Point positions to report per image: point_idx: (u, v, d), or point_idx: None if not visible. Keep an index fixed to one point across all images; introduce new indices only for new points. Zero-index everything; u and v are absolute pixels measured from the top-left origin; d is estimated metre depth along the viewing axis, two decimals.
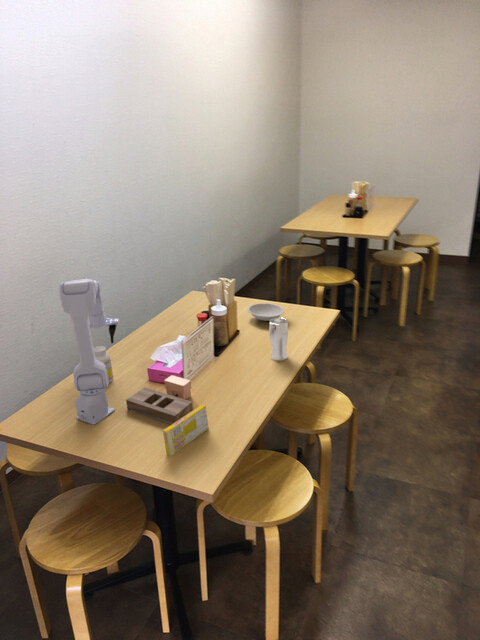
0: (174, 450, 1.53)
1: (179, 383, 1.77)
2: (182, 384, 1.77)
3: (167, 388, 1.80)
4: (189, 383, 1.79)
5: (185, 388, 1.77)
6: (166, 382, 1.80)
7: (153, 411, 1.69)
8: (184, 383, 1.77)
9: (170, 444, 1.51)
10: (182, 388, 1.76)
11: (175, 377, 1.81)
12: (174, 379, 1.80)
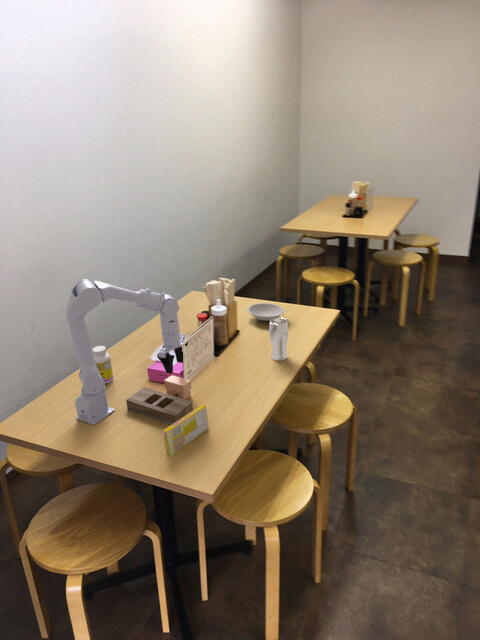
0: (174, 450, 1.53)
1: (179, 383, 1.77)
2: (182, 384, 1.77)
3: (167, 388, 1.80)
4: (189, 383, 1.79)
5: (185, 388, 1.77)
6: (166, 382, 1.80)
7: (153, 411, 1.69)
8: (184, 383, 1.77)
9: (170, 444, 1.51)
10: (182, 388, 1.76)
11: (175, 377, 1.81)
12: (174, 379, 1.80)
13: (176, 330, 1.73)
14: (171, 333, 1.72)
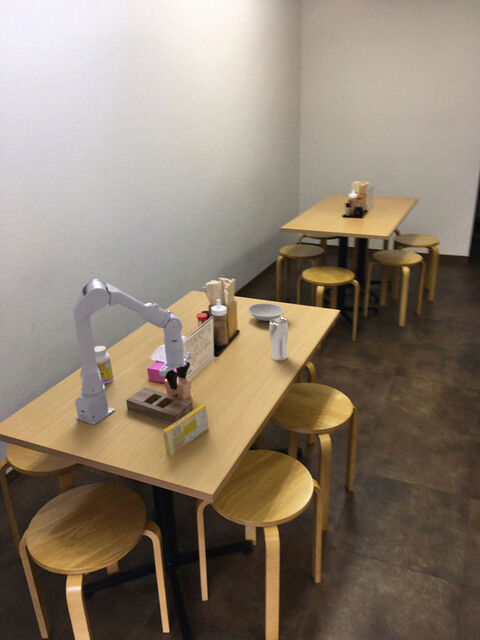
0: (174, 450, 1.53)
1: (179, 383, 1.77)
2: (182, 384, 1.77)
3: (167, 388, 1.80)
4: (189, 383, 1.79)
5: (185, 388, 1.77)
6: (166, 382, 1.80)
7: (153, 411, 1.69)
8: (184, 383, 1.77)
9: (170, 444, 1.51)
10: (182, 387, 1.76)
11: None
12: None
13: (179, 349, 1.73)
14: (173, 352, 1.72)
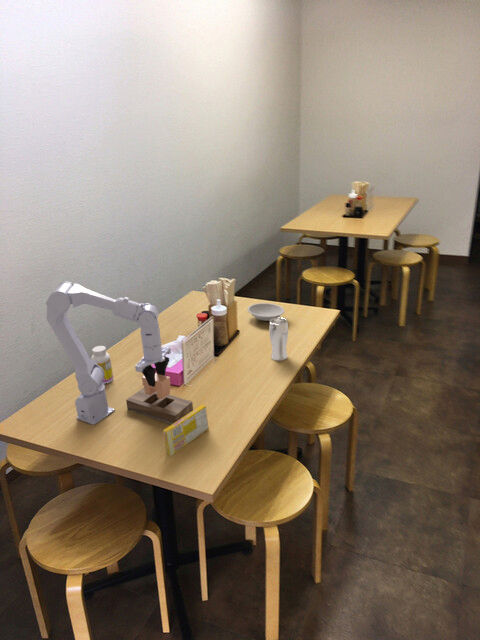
0: (174, 450, 1.53)
1: (157, 380, 1.67)
2: (160, 381, 1.67)
3: (145, 385, 1.70)
4: (168, 380, 1.68)
5: (163, 385, 1.67)
6: (144, 379, 1.69)
7: (153, 411, 1.69)
8: (162, 380, 1.67)
9: (170, 445, 1.51)
10: (161, 385, 1.66)
11: None
12: None
13: (154, 344, 1.62)
14: (150, 346, 1.62)
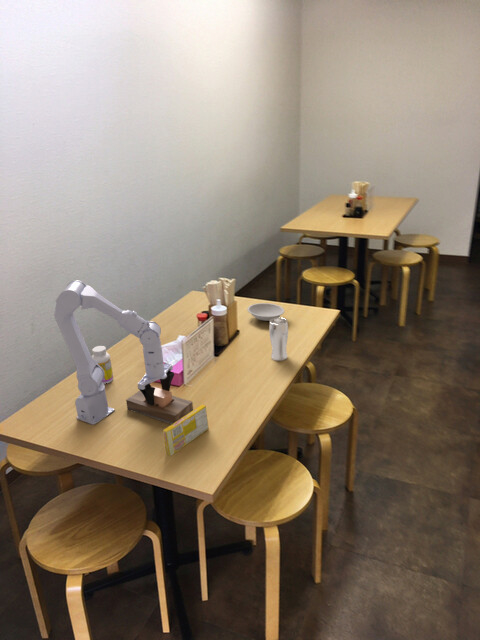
0: (174, 450, 1.53)
1: (159, 395, 1.69)
2: (162, 396, 1.69)
3: None
4: (170, 395, 1.71)
5: (165, 400, 1.69)
6: None
7: (153, 411, 1.69)
8: (164, 395, 1.69)
9: (170, 444, 1.51)
10: (163, 400, 1.68)
11: (155, 388, 1.73)
12: None
13: (156, 362, 1.64)
14: (153, 364, 1.64)
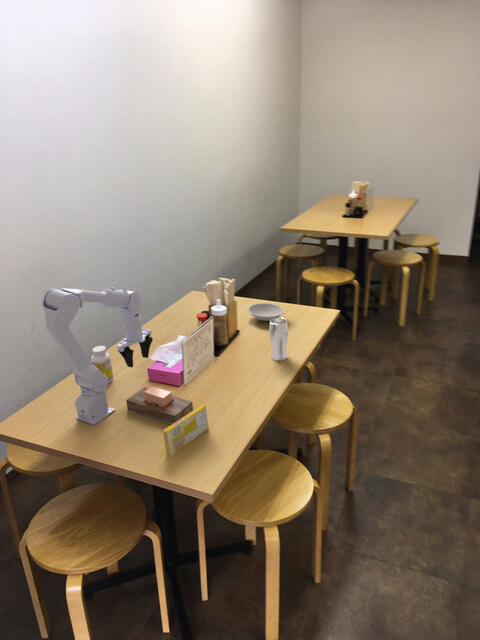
0: (174, 450, 1.53)
1: (159, 395, 1.69)
2: (162, 396, 1.69)
3: (147, 400, 1.72)
4: (170, 395, 1.71)
5: (165, 400, 1.69)
6: (146, 394, 1.72)
7: (153, 411, 1.69)
8: (164, 395, 1.69)
9: (170, 445, 1.51)
10: (163, 400, 1.68)
11: (155, 388, 1.73)
12: (154, 390, 1.72)
13: (140, 323, 1.77)
14: (131, 328, 1.75)
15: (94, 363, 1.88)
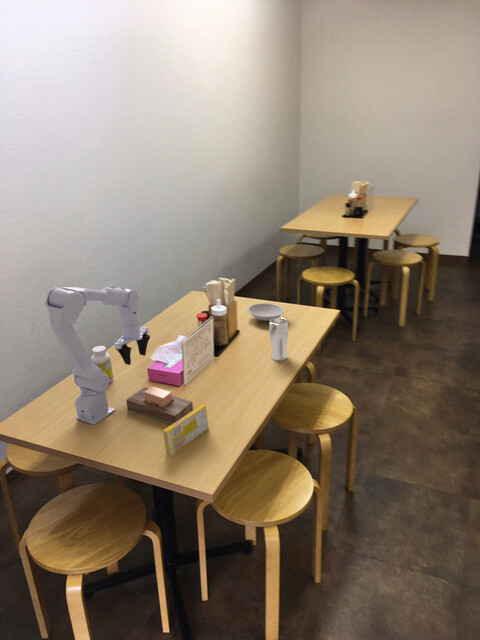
0: (174, 450, 1.53)
1: (159, 395, 1.69)
2: (162, 396, 1.69)
3: (147, 400, 1.72)
4: (170, 395, 1.71)
5: (165, 400, 1.69)
6: (146, 394, 1.72)
7: (153, 411, 1.69)
8: (164, 395, 1.69)
9: (170, 444, 1.51)
10: (163, 400, 1.68)
11: (155, 388, 1.73)
12: (154, 390, 1.72)
13: (138, 321, 1.79)
14: (129, 326, 1.77)
15: (94, 363, 1.88)
